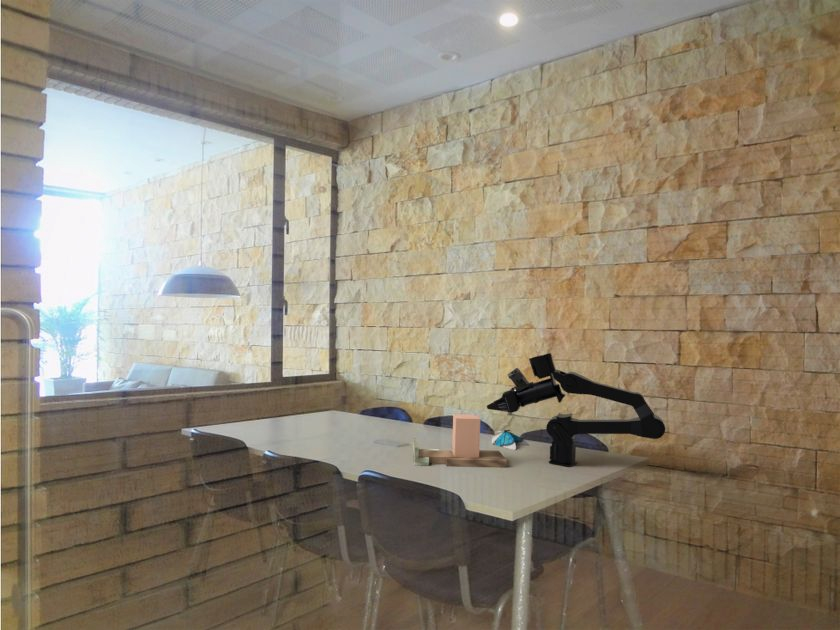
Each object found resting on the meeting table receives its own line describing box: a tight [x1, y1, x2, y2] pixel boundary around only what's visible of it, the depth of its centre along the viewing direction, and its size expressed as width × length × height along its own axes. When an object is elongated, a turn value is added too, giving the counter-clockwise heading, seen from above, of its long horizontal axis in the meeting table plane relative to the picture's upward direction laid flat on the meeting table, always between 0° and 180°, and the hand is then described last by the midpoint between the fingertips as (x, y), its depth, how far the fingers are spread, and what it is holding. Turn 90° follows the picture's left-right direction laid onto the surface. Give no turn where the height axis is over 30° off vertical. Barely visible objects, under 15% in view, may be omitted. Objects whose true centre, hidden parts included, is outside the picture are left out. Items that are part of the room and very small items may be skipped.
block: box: [451, 413, 481, 457], centre depth 168 cm, size 7×7×11 cm
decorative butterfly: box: [491, 428, 530, 451], centre depth 192 cm, size 10×6×10 cm
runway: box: [412, 438, 508, 468], centre depth 168 cm, size 26×12×5 cm, turn 93°
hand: (490, 405), depth 177 cm, fingers open, 9 cm apart
